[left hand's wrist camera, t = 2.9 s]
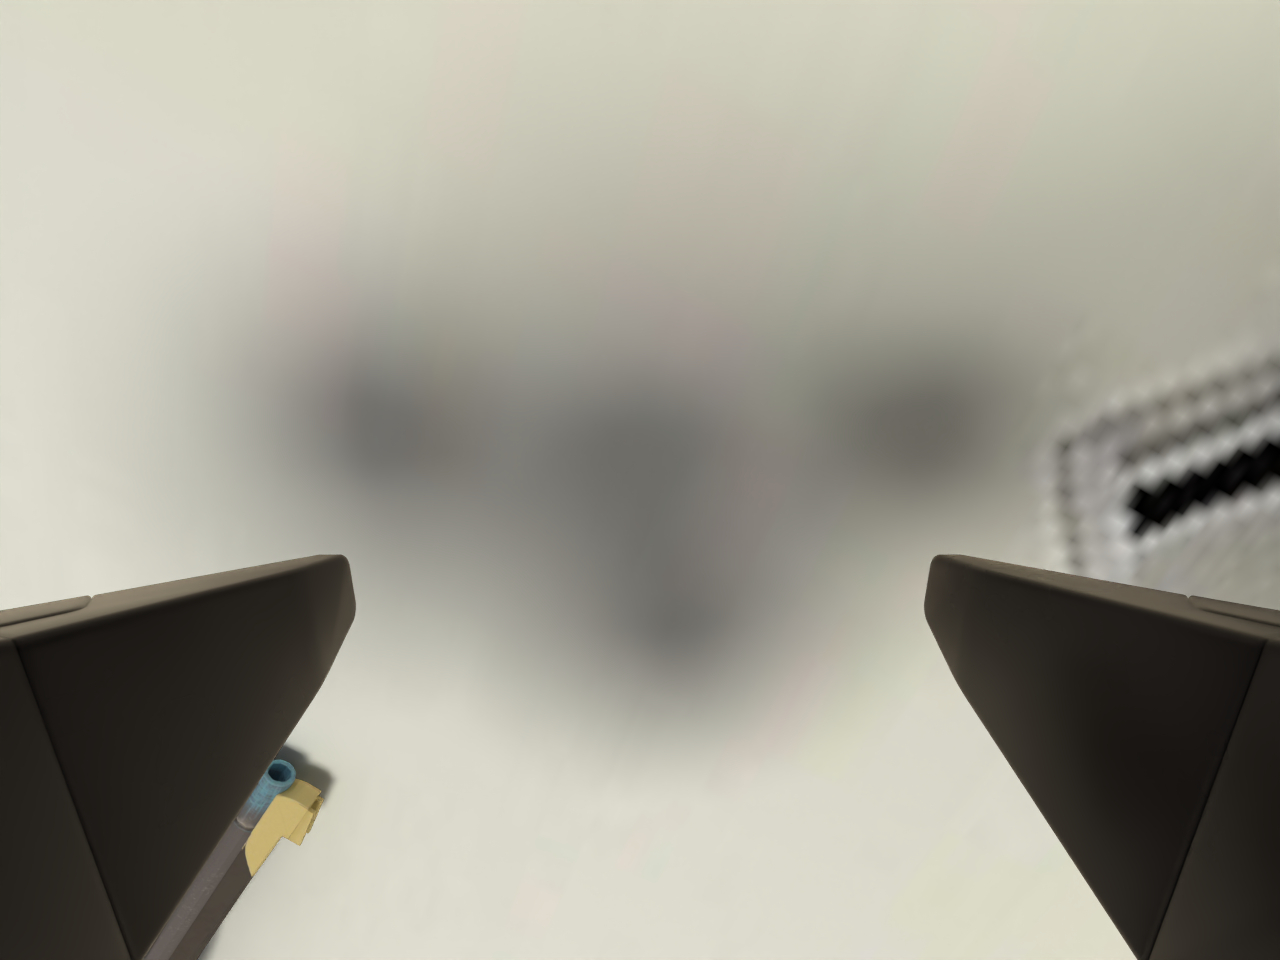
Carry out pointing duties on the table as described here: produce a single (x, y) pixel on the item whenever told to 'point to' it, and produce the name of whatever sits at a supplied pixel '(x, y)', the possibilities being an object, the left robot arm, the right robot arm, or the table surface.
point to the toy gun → (238, 860)
